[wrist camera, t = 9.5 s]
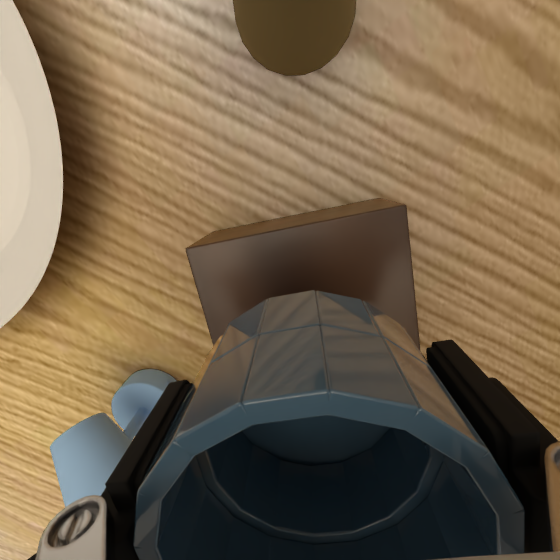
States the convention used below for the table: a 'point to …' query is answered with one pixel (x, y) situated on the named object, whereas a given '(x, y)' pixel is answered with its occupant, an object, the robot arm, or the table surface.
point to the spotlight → (105, 436)
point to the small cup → (322, 449)
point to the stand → (309, 262)
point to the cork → (294, 32)
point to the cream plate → (25, 166)
